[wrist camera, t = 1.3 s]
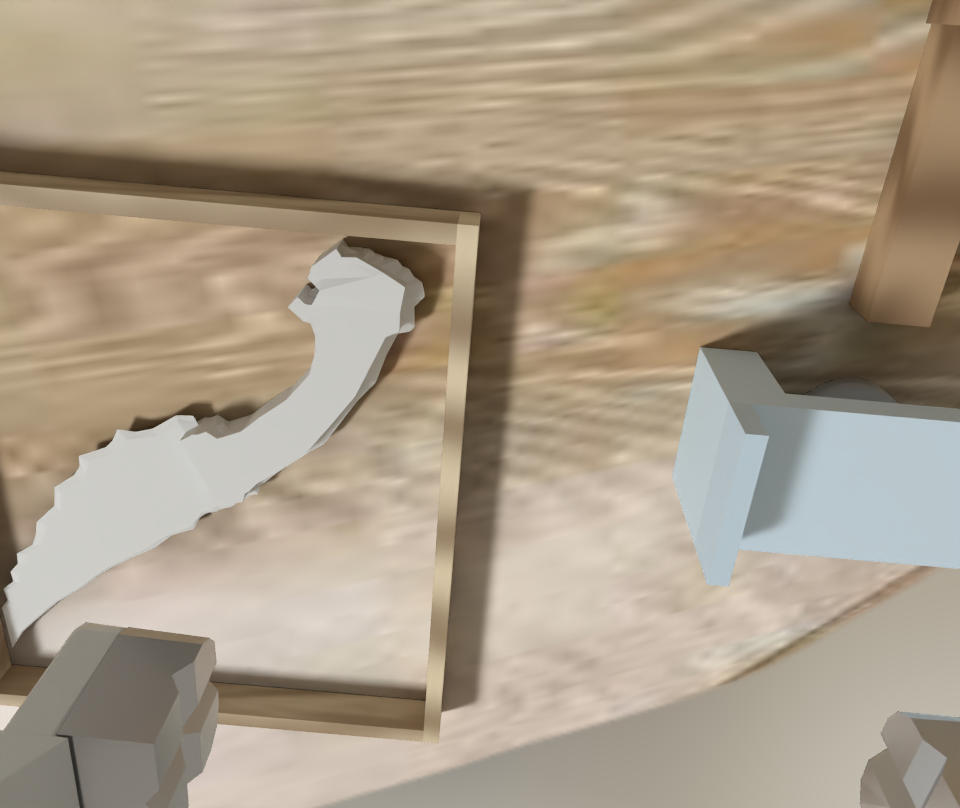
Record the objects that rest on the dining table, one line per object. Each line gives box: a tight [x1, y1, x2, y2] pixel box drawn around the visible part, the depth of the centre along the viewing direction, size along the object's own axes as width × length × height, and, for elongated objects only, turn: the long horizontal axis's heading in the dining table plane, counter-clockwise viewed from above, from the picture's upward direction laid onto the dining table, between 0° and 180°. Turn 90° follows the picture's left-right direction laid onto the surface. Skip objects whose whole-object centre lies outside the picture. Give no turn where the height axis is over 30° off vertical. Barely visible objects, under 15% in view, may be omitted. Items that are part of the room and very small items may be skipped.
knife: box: [2, 239, 425, 648], centre depth 47 cm, size 37×8×2 cm, turn 129°
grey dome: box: [805, 378, 897, 403], centre depth 44 cm, size 6×6×2 cm
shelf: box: [672, 347, 960, 586], centre depth 41 cm, size 8×14×10 cm, turn 86°
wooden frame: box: [0, 171, 481, 743], centre depth 47 cm, size 34×30×2 cm
